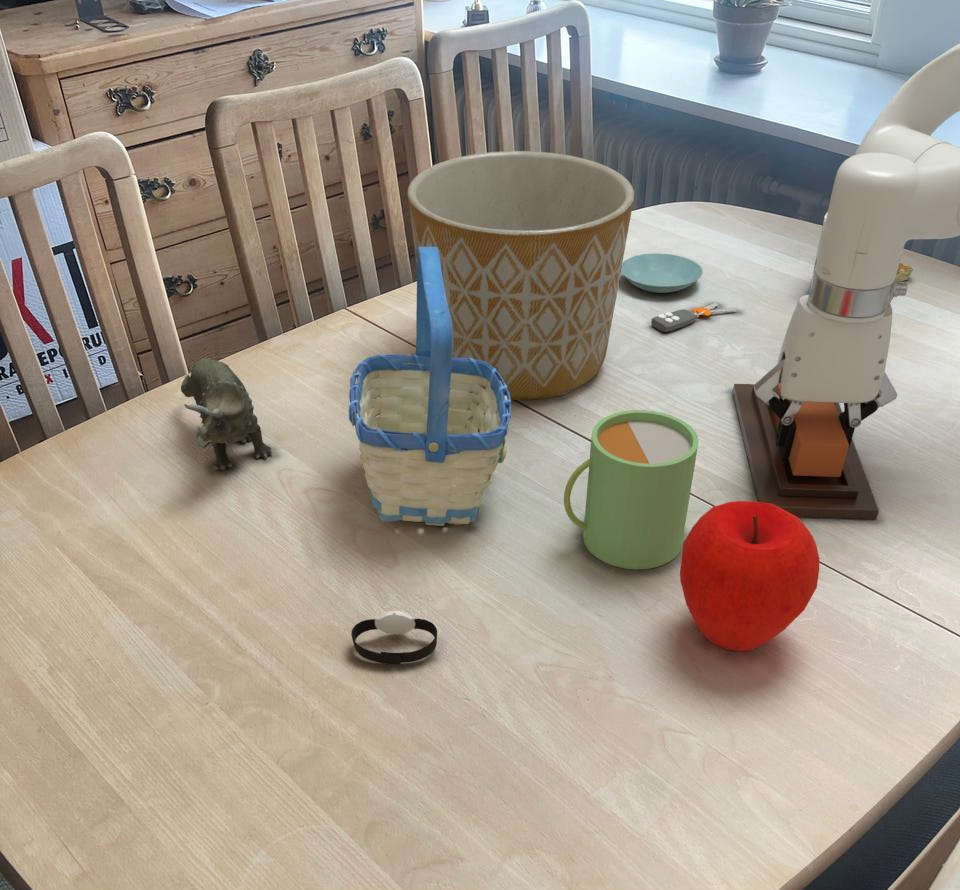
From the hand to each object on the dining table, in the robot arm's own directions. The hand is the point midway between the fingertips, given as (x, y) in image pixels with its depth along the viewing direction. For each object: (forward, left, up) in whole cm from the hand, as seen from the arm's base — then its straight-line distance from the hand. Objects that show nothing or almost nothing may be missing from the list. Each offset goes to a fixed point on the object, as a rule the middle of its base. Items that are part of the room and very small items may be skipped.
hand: (810, 450), depth 114 cm
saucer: (+13, -48, -3) cm, 50 cm away
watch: (+42, +32, -3) cm, 53 cm away
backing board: (0, -4, -3) cm, 5 cm away
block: (0, 0, 0) cm, 0 cm away
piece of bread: (-18, -52, -3) cm, 55 cm away
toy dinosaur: (+65, -1, -3) cm, 65 cm away
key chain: (+9, -37, -3) cm, 39 cm away
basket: (+41, +6, -3) cm, 41 cm away
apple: (+11, +28, -3) cm, 30 cm away
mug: (+21, +14, -3) cm, 25 cm away
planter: (+33, -23, -3) cm, 41 cm away
